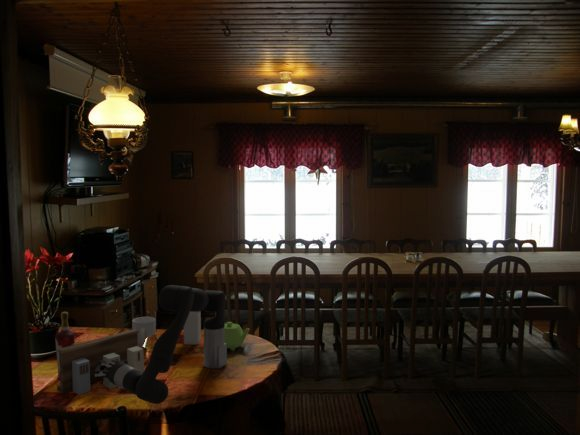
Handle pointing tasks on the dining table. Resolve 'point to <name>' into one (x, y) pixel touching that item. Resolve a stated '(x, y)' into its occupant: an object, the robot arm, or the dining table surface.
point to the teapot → (234, 335)
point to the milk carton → (192, 328)
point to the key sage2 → (108, 359)
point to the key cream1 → (136, 358)
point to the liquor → (64, 338)
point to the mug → (144, 328)
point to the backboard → (93, 355)
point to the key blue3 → (81, 375)
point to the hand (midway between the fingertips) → (99, 363)
